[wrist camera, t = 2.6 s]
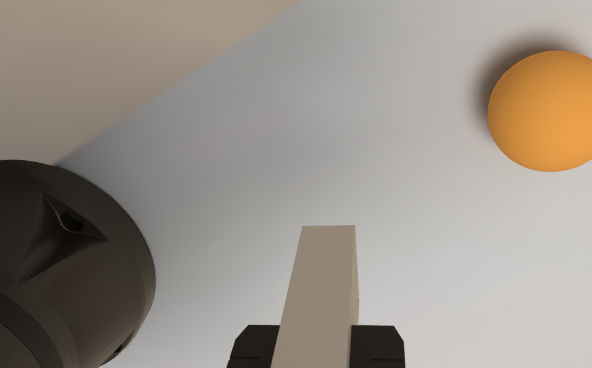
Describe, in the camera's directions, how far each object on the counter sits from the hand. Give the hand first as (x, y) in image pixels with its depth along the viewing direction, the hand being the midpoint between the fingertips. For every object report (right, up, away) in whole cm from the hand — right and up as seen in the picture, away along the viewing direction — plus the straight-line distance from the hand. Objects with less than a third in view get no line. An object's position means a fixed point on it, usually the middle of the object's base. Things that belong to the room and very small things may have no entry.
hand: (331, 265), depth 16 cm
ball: (+11, +6, +9) cm, 15 cm away
